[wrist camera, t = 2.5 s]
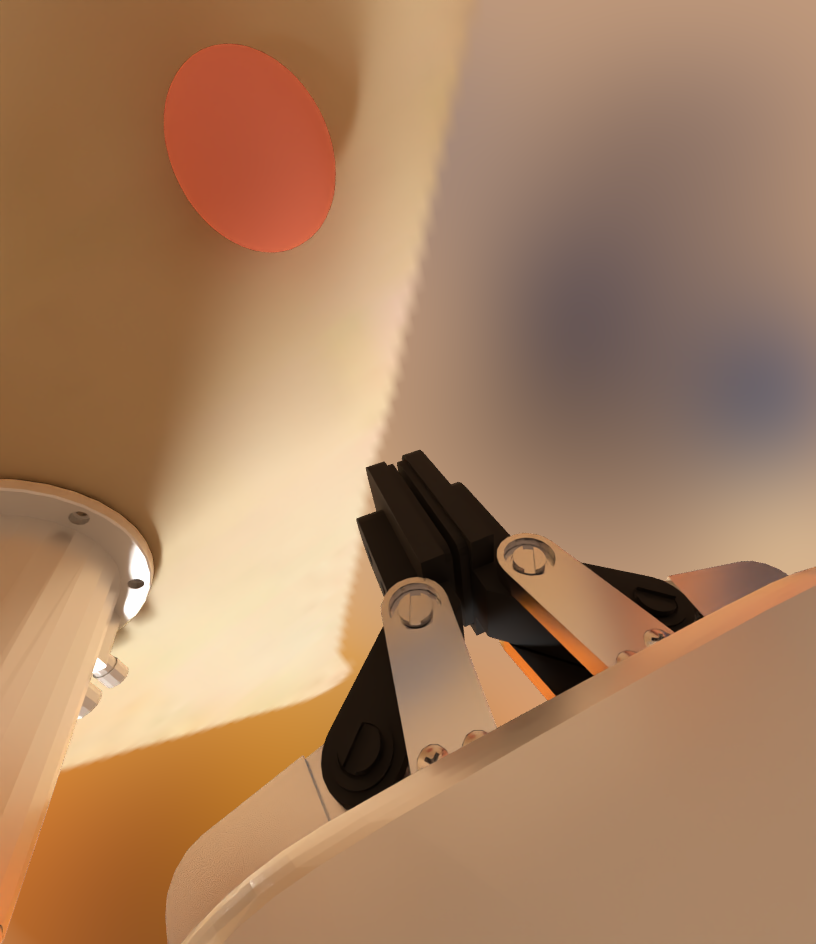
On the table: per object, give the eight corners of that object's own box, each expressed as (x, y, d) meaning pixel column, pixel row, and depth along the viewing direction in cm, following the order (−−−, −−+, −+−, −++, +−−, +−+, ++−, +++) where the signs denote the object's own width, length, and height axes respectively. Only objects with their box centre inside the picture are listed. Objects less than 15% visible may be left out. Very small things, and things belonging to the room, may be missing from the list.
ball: (334, 239, 19) (367, 238, 14) (213, 262, 18) (205, 268, 13) (298, 74, 16) (326, 0, 11) (145, 86, 14) (100, 7, 10)
